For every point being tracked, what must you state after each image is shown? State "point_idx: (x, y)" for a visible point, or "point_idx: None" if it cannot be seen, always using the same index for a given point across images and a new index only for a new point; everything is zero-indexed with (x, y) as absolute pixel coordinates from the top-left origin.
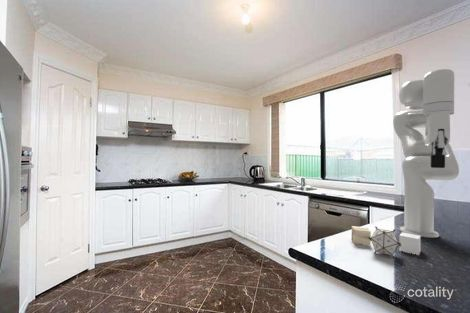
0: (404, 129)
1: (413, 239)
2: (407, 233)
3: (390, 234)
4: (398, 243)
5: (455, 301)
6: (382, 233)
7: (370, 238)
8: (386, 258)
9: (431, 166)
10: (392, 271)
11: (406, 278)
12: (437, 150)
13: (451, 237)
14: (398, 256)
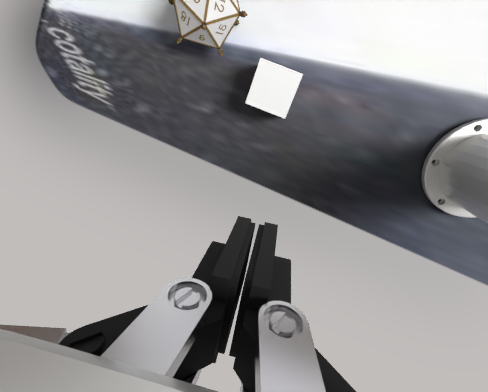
0: None
1: (250, 91)
2: (295, 88)
3: (184, 13)
4: (179, 37)
5: (73, 92)
6: None
7: None
8: None
9: (239, 217)
10: (125, 19)
11: (108, 40)
12: (109, 328)
13: (449, 240)
14: None
